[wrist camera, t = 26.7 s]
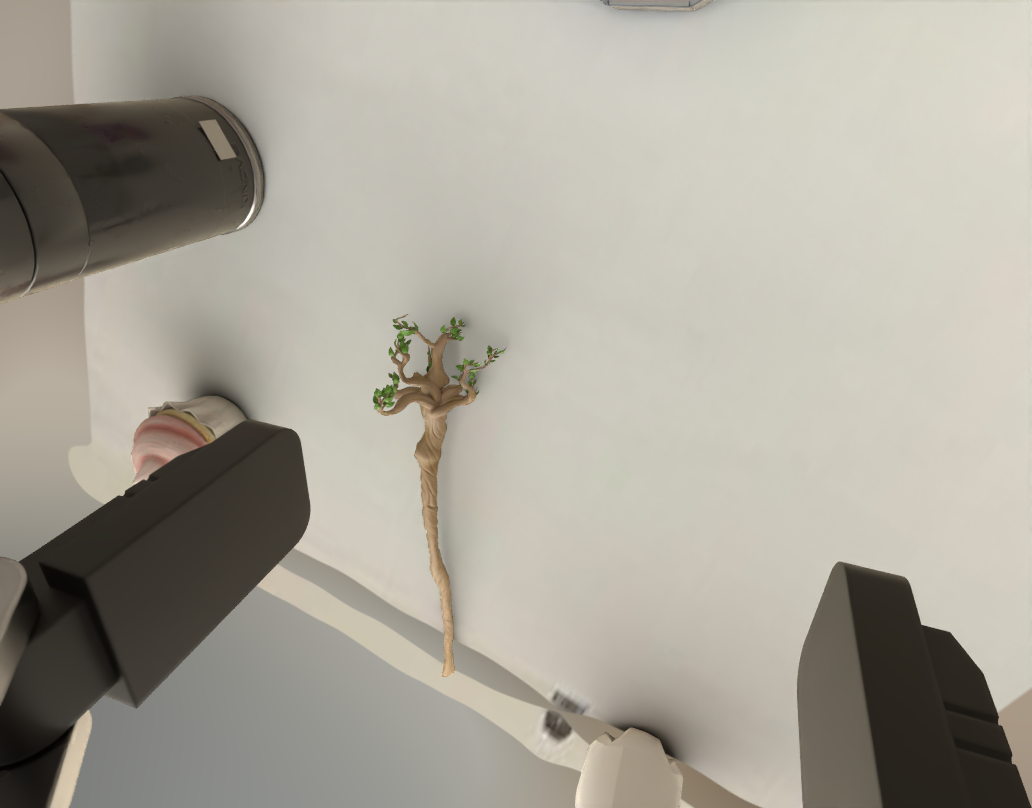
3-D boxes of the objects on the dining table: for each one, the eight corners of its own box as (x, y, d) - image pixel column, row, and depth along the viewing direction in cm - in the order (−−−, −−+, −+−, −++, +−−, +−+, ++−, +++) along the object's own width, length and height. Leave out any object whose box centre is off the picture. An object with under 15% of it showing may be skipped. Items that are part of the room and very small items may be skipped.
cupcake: (186, 361, 57) (86, 412, 48) (274, 409, 56) (188, 469, 47) (180, 437, 62) (89, 495, 53) (261, 483, 61) (181, 549, 52)
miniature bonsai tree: (454, 672, 64) (418, 744, 57) (384, 642, 66) (341, 709, 59) (518, 319, 44) (474, 364, 37) (415, 288, 46) (355, 327, 39)
